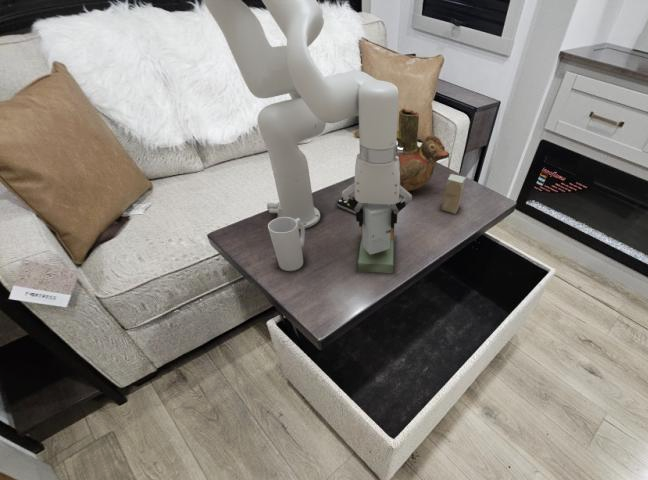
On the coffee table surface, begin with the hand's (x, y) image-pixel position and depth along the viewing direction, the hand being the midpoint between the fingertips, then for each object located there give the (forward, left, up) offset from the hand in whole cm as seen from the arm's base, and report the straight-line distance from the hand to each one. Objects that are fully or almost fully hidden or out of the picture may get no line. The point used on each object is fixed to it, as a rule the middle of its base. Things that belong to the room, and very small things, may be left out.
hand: (376, 223), depth 82 cm
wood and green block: (0, +4, -12) cm, 12 cm away
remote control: (-7, +26, -12) cm, 30 cm away
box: (+24, +29, -12) cm, 39 cm away
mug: (-21, -1, -12) cm, 25 cm away
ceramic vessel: (+9, +42, -12) cm, 45 cm away
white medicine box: (0, 0, -7) cm, 7 cm away
